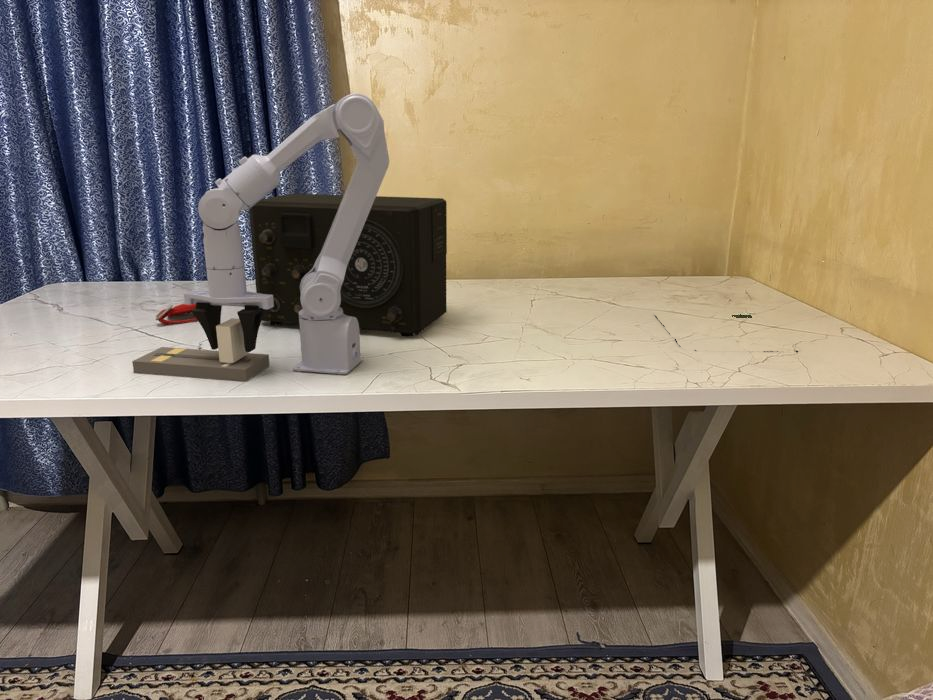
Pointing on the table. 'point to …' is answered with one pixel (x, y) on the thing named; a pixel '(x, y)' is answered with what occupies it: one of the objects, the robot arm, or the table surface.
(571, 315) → the table surface
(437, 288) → the vintage radio
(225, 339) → the fader tab
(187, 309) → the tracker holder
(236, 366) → the fader console
